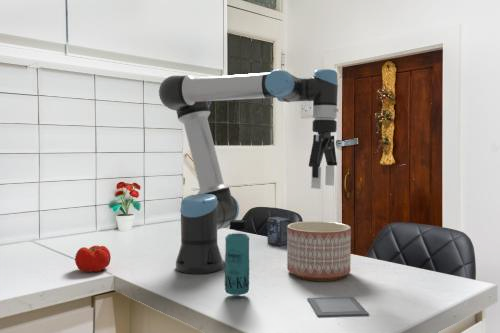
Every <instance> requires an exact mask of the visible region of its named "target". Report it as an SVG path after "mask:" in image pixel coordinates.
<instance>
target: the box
mask: <svg viewBox="0 0 500 333" xmlns="http://www.w3.org/2000/svg"><path fill="white" fill-rule="evenodd" d="M289 224H291V219H290V218H285V217H280V216H273V217H267V244H268V245H269V244H270V245H274V246H278V247H285V246H287V226H288V225H289Z"/></svg>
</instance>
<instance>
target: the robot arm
mask: <svg viewBox="0 0 500 333" xmlns="http://www.w3.org/2000/svg"><path fill="white" fill-rule="evenodd" d="M158 88H159V89H158V96H159V100H160V101H161V103H162V104H163V106H164V107H166V108H167V109H169V110H172V111H176V114H177V119H178V122H180V123H182V124H183V125H184V129H185V134H186V139H187V142H188V147H189V151H190V154H191V158H192V162H193V166H194V171H195V175H196V179H197V182H198V187H199V191H198V192H197V194H190V195H187V196H186V197H184V198H182V199H181V202H180V209H179V210H180V248H179V251H178V255H177V258H176V259H175V260H176V261H175V270H176V271H178V272H180V273H183V274H190V275H191V274H193V275H197V274H198V275H199V274H200V275H201V274H202V275H203V274H210V273H214V272H218V271H220V270H222V269H223V268H224V262H223V257H222V255H221V251H220V248H219V244H218V230H221V229H225V228H228V227H230V221H232V220H238V217H239V214H240V206H239V202H238V199H236V197H234V196H233V195H232V193H231V189H230V186H228V185H227V184H225V183H224V179H223V176H222V171H221V167H220V162H219V159H218V156H217V151H216V147H215V144H214V139H213V135H212V131H211V128H210V124H209V119H208V118H209V116H210V115H211V110H210V106H211V104H212V102H215V101H216V102H217V101H219V102H221V101H234V100H235V101H236V100H254V99H277V101H279V102H281V103H282V102H283V103H284V102H285V103H293V102H312V119H314V120H313V121H312V128H311V130H312V132H313V133H316V134H313V139H312V146H311V150H310V156H309V162H308V167H310V168H311V183H310V184H311V186H310V187H311V189H316V190H317V189H319V190H320V189H322V188H321V186H322V167H321V163H322V161H323V156H324V158H325V162H326V165H325V178H324V179H325V180H324V181H325V182H324V185H325V186H335V167H336V166H338V161H337V153H336V147H335V146H336V144H335V135H332V133H336V132H337V130H338V129H337V127H338V124H337V120H336V119H337V116H338V112H339V108H338V89H339V83H338V72H337V71H336V70H334V69H328V68H325V69H322V68H321V69H316V70H315V71H314V72H313V75H312V76H309V77H297V76H295V75H293V74H292V73H290V72H288V71H286V70H284V69H274V70H272V71H270V72H260V73H248V74H246V73H245V74H233V75H222V76H208V77H207V76H206V77H205V76H203V77H194V76H192V75H189V74H186V75H171V76H168V77H166V78H165V79H164V80H162V82H161V83H160V85H159V87H158Z"/></svg>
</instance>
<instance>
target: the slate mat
mask: <svg viewBox="0 0 500 333" xmlns="http://www.w3.org/2000/svg"><path fill="white" fill-rule="evenodd" d="M306 299H307V301H308V303H309V305H310V307H311V309H312V310H313V312H314V313H315V314H316V317H321V318H323V317H326V318H327V317H329V318H330V317H357V316H358V317H359V316H360V317H361V316H362V317H363V316H370V313H369V312H368V311H367V310H366V309H365V308H364V307H363V305H362V304H361V303H360V301H358V300H357V299H356V297H355V296H330V297H329V296H324V297H320V296H319V297H306Z"/></svg>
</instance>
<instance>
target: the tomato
mask: <svg viewBox="0 0 500 333" xmlns="http://www.w3.org/2000/svg"><path fill="white" fill-rule="evenodd" d="M111 259H112V258H111V253H110V250H109V249H108V248H107V247H106V246H105V245H93V246H90V247H89V248H88V247H81V248H79V249H78V250H77V251H76V254H75V258H74V261H75V265H76V267H77V269H78V270H80V271H82V272H83V273H91V272H92V273H98V272H100V271H102V270H104V269H105V268H107V267H109V265H110V263H111Z"/></svg>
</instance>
